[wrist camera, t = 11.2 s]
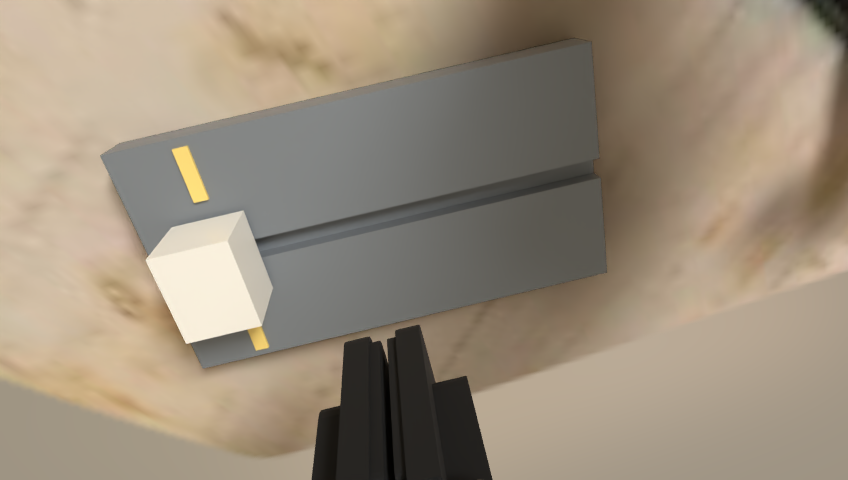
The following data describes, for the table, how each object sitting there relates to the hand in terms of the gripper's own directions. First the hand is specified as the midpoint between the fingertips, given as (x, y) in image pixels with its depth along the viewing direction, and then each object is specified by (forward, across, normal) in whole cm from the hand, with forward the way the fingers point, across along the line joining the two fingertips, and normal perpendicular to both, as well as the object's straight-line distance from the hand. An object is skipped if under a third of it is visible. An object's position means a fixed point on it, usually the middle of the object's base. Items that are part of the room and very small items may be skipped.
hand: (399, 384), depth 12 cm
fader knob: (+20, +10, +4) cm, 22 cm away
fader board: (+22, +1, +4) cm, 22 cm away
